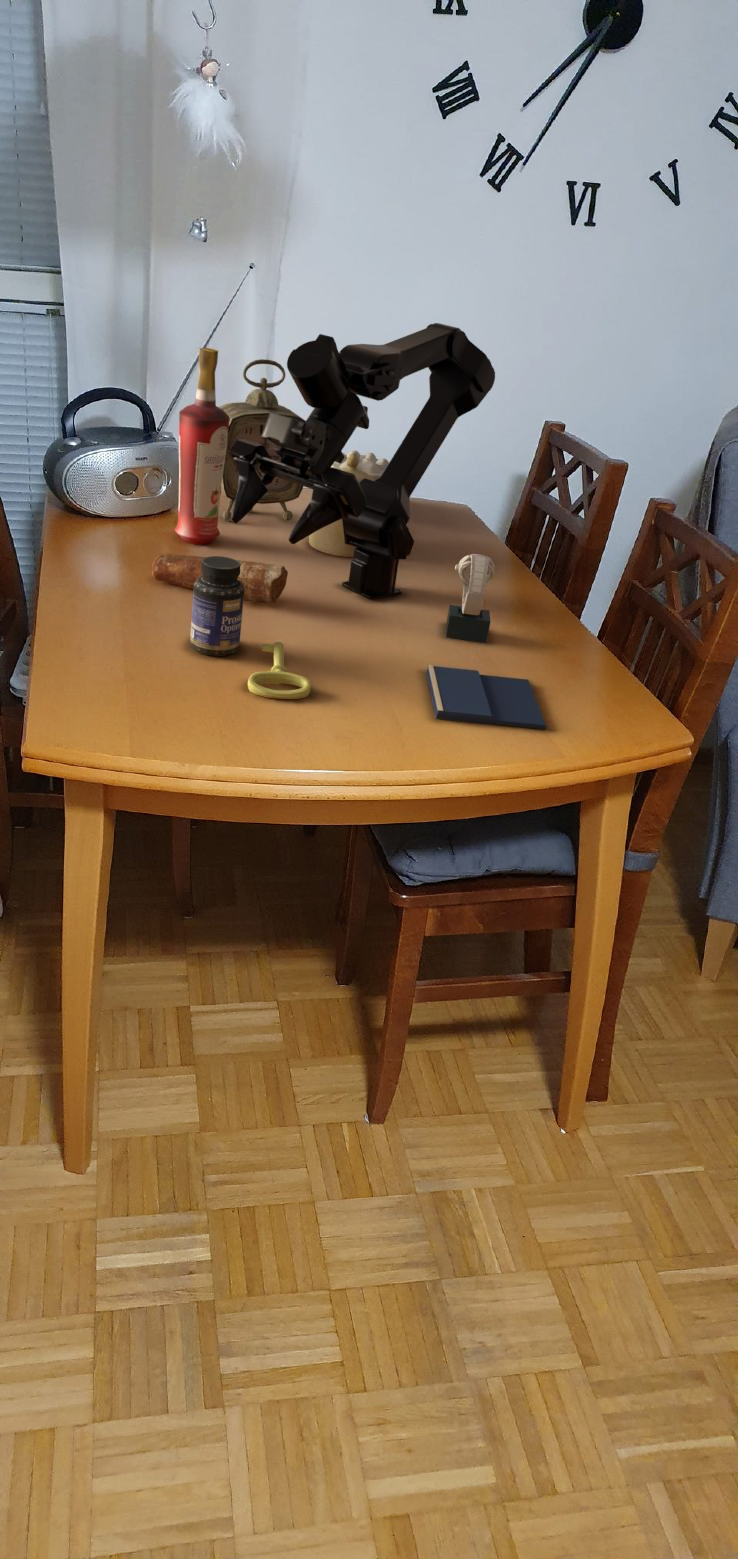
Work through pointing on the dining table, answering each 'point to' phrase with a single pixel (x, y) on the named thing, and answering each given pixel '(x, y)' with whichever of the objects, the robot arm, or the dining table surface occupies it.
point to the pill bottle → (217, 607)
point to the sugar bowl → (339, 521)
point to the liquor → (201, 457)
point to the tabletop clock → (256, 440)
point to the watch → (471, 600)
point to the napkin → (483, 698)
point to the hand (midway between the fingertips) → (261, 531)
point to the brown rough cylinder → (256, 577)
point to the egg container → (366, 464)
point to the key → (278, 677)
